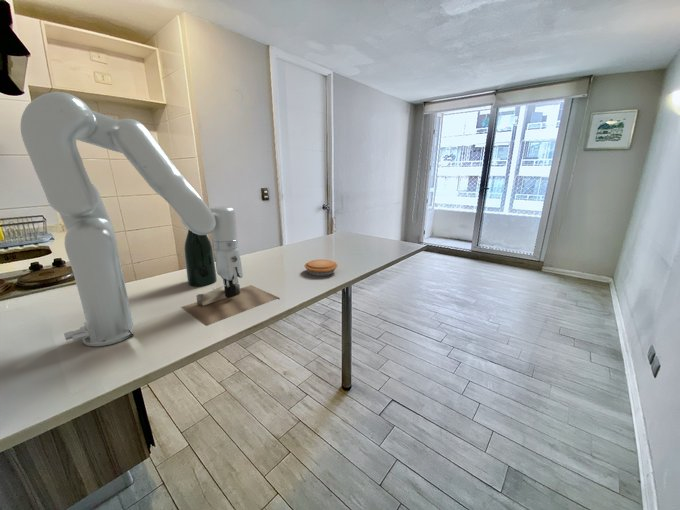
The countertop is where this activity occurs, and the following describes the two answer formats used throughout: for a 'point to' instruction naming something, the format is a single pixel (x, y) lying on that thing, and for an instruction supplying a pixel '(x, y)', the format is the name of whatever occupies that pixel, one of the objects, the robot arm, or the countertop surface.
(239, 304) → the brown wooden flat board
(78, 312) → the countertop surface
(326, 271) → the pie
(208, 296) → the folding leg
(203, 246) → the green wine bottle
